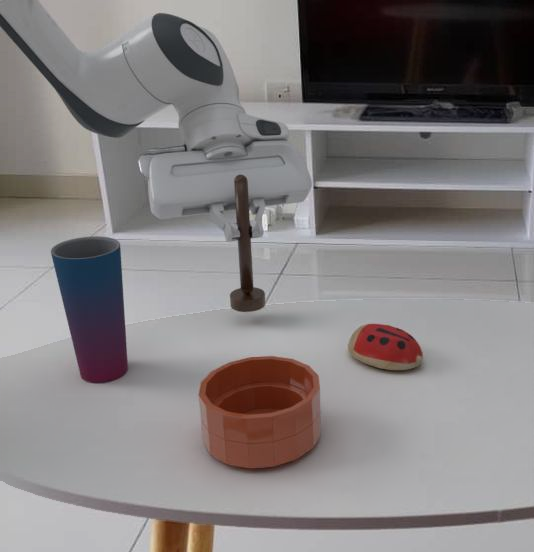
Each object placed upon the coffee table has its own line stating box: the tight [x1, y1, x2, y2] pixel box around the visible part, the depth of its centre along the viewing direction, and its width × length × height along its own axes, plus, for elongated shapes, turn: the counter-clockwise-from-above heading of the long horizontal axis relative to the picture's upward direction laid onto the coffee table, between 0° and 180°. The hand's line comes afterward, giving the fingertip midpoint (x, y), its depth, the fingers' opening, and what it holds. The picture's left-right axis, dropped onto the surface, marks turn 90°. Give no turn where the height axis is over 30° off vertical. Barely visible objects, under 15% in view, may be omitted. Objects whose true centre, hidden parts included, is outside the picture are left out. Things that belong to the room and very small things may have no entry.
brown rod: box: [229, 175, 266, 313], centre depth 93 cm, size 4×4×17 cm
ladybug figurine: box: [347, 323, 424, 371], centre depth 88 cm, size 7×10×4 cm
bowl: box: [198, 355, 322, 469], centre depth 72 cm, size 11×11×6 cm
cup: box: [50, 235, 129, 384], centre depth 82 cm, size 7×7×15 cm
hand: (245, 237), depth 92 cm, fingers closed on brown rod
